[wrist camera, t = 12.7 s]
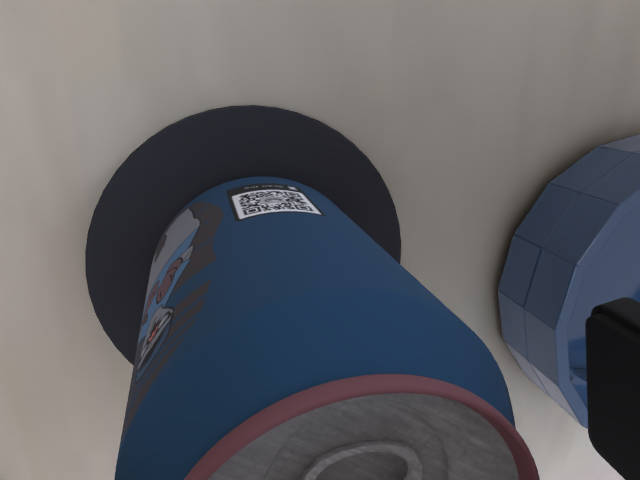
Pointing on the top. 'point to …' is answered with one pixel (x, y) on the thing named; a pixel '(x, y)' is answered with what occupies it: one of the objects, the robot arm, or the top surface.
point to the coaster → (208, 172)
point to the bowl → (572, 268)
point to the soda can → (304, 355)
